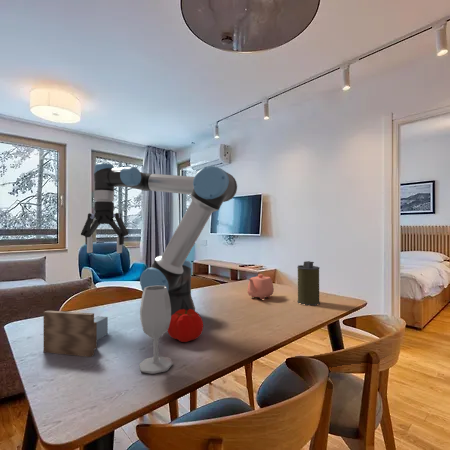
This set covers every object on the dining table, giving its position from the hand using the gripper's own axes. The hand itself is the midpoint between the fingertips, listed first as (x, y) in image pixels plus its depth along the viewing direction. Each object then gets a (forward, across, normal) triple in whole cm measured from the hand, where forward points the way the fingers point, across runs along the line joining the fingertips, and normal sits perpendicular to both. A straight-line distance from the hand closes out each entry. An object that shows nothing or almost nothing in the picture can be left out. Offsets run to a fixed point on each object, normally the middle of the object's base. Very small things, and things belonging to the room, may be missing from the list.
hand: (104, 252), depth 120 cm
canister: (+27, -84, -38) cm, 96 cm away
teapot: (+27, -61, -44) cm, 80 cm away
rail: (+27, -10, +24) cm, 37 cm away
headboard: (+27, -10, +31) cm, 42 cm away
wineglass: (+27, -39, +36) cm, 60 cm away
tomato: (+27, -40, +16) cm, 51 cm away
